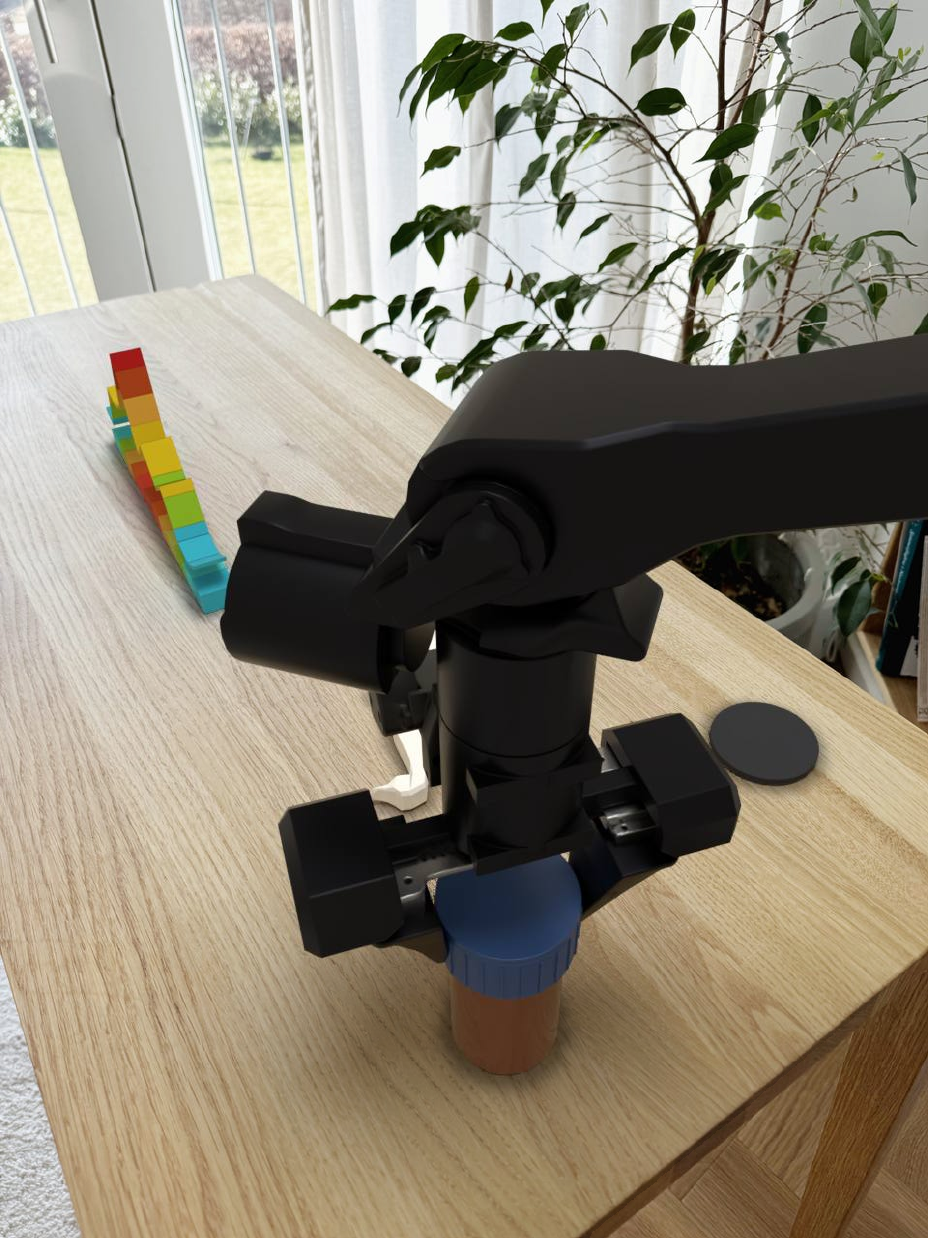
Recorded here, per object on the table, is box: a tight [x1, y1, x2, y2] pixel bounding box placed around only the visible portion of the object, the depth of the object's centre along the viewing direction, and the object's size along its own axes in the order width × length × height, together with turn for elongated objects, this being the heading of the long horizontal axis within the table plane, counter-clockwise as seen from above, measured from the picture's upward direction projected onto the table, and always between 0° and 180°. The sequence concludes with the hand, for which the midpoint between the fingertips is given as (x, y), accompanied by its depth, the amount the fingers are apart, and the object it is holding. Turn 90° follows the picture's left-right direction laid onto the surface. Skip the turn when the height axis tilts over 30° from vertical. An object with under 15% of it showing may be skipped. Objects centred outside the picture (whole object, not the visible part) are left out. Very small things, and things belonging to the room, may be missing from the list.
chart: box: [105, 347, 231, 615], centre depth 84 cm, size 30×3×15 cm, turn 28°
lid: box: [433, 854, 583, 999], centre depth 45 cm, size 7×7×3 cm
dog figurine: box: [370, 632, 436, 812], centre depth 70 cm, size 2×13×20 cm
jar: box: [448, 970, 563, 1075], centre depth 48 cm, size 6×6×11 cm
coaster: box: [708, 701, 820, 786], centre depth 66 cm, size 7×7×1 cm
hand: (507, 934), depth 46 cm, fingers closed on lid, 6 cm apart
